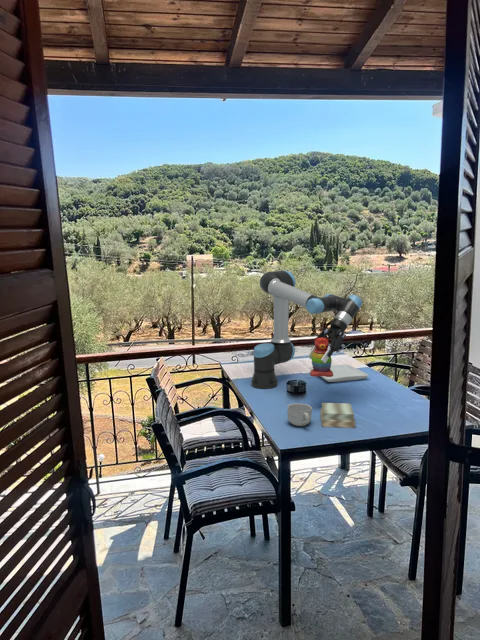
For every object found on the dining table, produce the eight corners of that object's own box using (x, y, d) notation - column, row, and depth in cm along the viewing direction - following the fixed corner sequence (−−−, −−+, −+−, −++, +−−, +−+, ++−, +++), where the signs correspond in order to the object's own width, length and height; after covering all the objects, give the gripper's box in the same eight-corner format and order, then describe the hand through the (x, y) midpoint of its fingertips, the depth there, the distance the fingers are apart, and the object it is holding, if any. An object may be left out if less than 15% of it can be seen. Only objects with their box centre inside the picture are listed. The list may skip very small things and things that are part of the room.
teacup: (285, 419, 195) (285, 402, 194) (308, 418, 196) (308, 401, 195) (291, 432, 182) (291, 414, 180) (316, 430, 183) (316, 413, 181)
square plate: (369, 381, 250) (370, 374, 249) (326, 385, 244) (326, 379, 243) (347, 369, 276) (347, 363, 275) (308, 372, 270) (308, 366, 269)
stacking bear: (310, 376, 201) (310, 339, 198) (310, 370, 211) (310, 335, 208) (333, 377, 199) (333, 340, 196) (332, 371, 209) (332, 335, 206)
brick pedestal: (322, 426, 186) (322, 413, 185) (320, 414, 200) (320, 402, 199) (354, 427, 184) (355, 414, 183) (351, 415, 198) (351, 403, 197)
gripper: (361, 330, 201) (336, 369, 195) (329, 324, 219) (305, 359, 213) (353, 320, 197) (328, 359, 192) (321, 315, 215) (297, 350, 210)
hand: (316, 359), depth 202 cm, fingers closed on stacking bear, 9 cm apart
